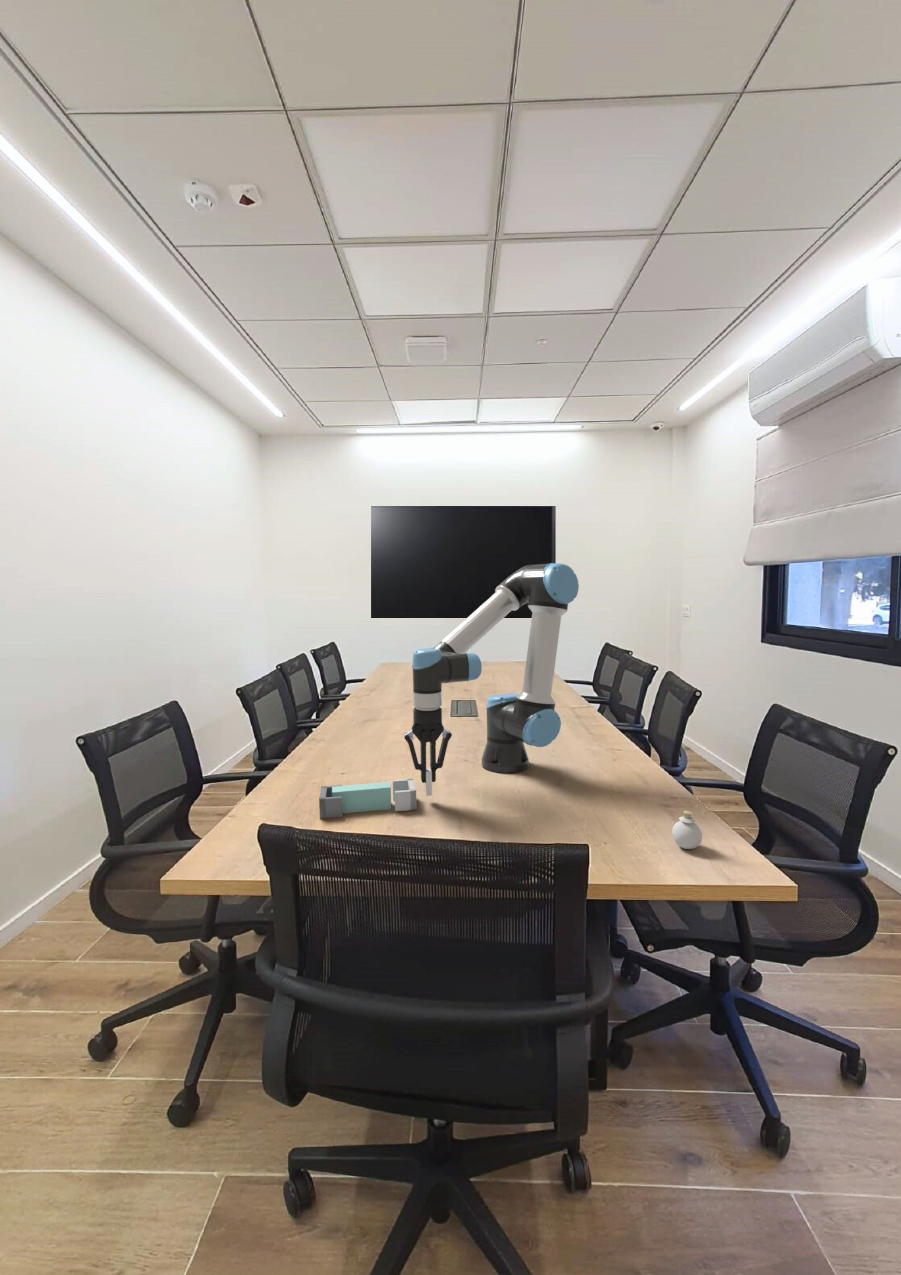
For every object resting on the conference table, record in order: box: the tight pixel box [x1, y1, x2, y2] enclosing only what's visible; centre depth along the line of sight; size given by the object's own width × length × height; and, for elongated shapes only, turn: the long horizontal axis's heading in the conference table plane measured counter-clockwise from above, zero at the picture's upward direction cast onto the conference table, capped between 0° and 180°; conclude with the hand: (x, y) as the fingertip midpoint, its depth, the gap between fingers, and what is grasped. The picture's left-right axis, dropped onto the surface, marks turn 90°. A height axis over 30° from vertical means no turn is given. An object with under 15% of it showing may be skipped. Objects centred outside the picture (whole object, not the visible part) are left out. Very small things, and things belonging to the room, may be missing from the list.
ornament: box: [671, 804, 708, 850], centre depth 119 cm, size 6×7×10 cm
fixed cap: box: [318, 784, 343, 819], centre depth 141 cm, size 6×9×5 cm, turn 10°
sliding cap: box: [392, 778, 418, 812], centre depth 144 cm, size 6×9×5 cm, turn 10°
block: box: [332, 781, 392, 814], centre depth 142 cm, size 15×4×6 cm, turn 102°
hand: (428, 793), depth 145 cm, fingers closed
